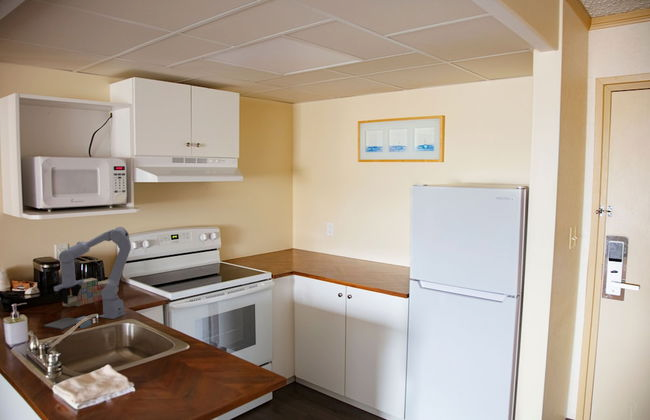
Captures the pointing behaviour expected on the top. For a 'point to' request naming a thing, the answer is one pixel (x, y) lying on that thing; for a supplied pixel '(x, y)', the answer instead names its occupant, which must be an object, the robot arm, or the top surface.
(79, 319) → the blue block
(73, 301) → the maple block
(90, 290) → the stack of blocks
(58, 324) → the baseplate
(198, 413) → the top surface
